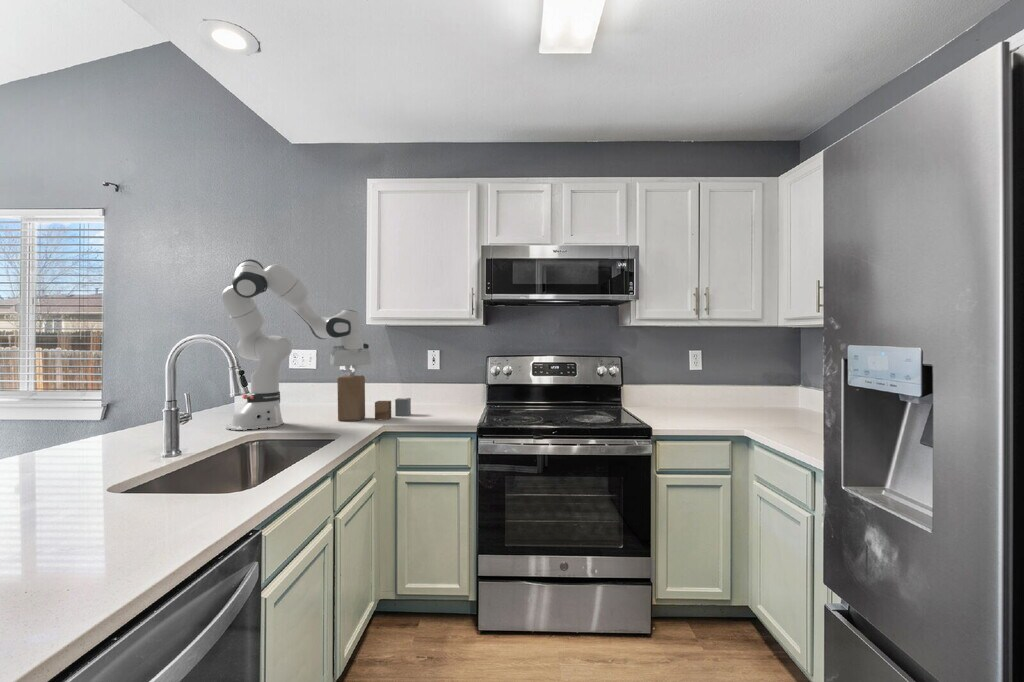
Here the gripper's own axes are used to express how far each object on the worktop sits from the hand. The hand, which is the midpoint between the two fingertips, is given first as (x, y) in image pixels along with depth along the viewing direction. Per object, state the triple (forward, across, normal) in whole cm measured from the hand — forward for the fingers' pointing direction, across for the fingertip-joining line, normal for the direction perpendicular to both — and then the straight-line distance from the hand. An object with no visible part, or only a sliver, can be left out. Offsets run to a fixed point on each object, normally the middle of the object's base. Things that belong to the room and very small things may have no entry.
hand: (351, 375), depth 238 cm
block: (+20, 0, 0) cm, 21 cm away
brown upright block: (+20, +10, -10) cm, 25 cm away
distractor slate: (+20, +22, -10) cm, 32 cm away
